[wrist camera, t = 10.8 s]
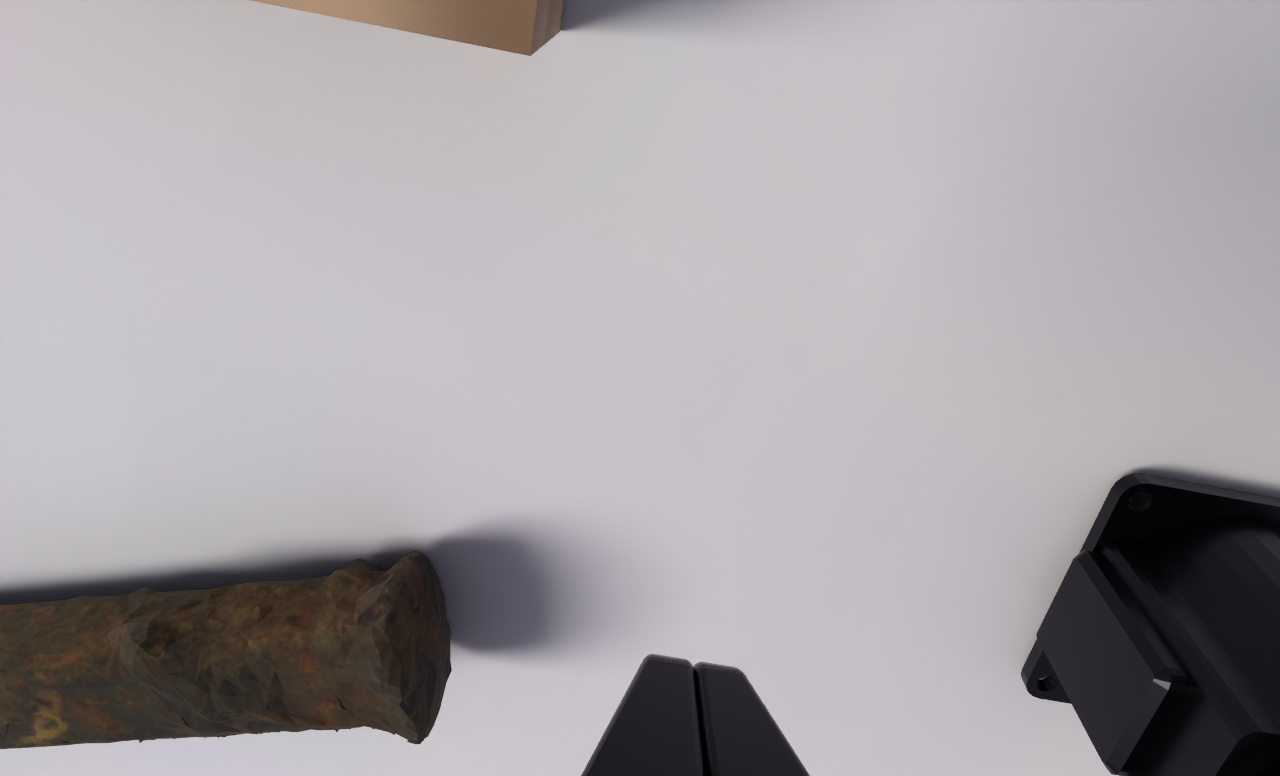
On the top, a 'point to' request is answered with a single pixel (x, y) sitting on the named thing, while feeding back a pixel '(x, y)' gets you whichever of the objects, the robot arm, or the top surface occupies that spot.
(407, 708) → the brown wooden log
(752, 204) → the top surface
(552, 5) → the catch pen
